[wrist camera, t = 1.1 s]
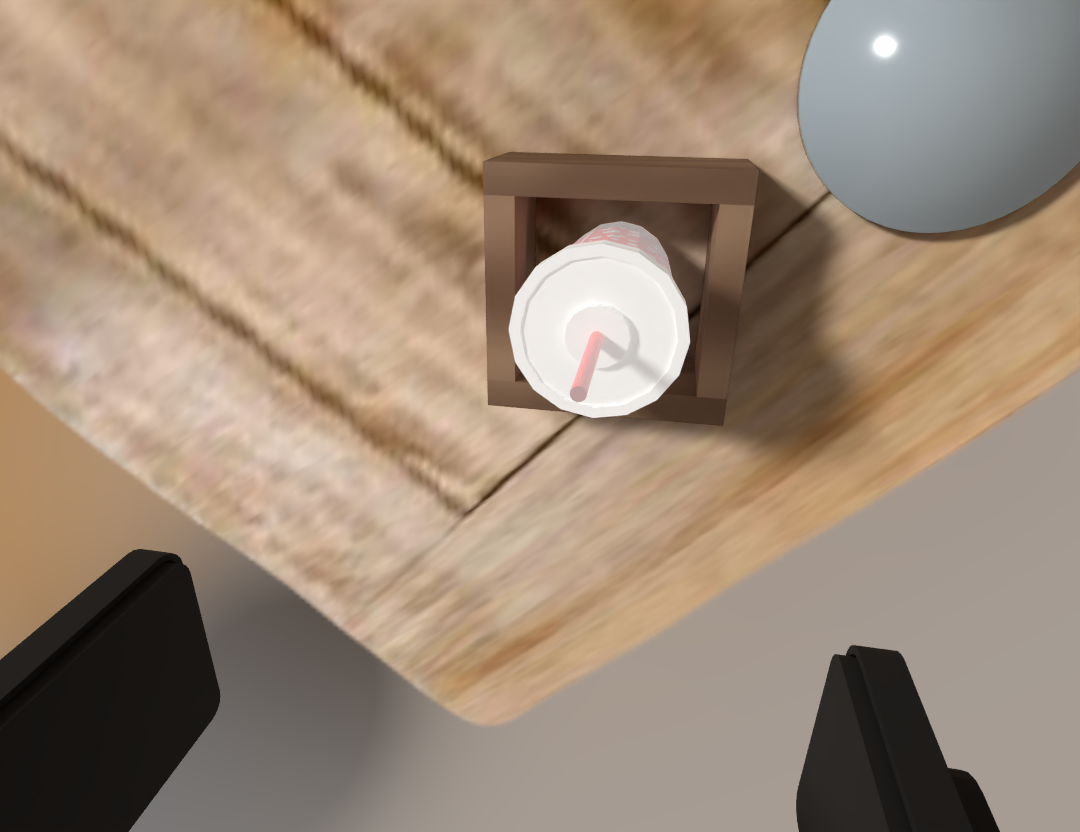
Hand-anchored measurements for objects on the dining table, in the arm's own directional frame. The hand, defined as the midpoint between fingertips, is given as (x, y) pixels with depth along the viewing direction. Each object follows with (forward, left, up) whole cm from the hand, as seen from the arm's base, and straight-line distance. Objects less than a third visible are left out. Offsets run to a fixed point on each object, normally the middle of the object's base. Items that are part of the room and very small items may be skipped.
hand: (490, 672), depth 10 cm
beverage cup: (0, 0, -24) cm, 24 cm away
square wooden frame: (0, 0, -24) cm, 24 cm away
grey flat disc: (-8, +12, -24) cm, 28 cm away
